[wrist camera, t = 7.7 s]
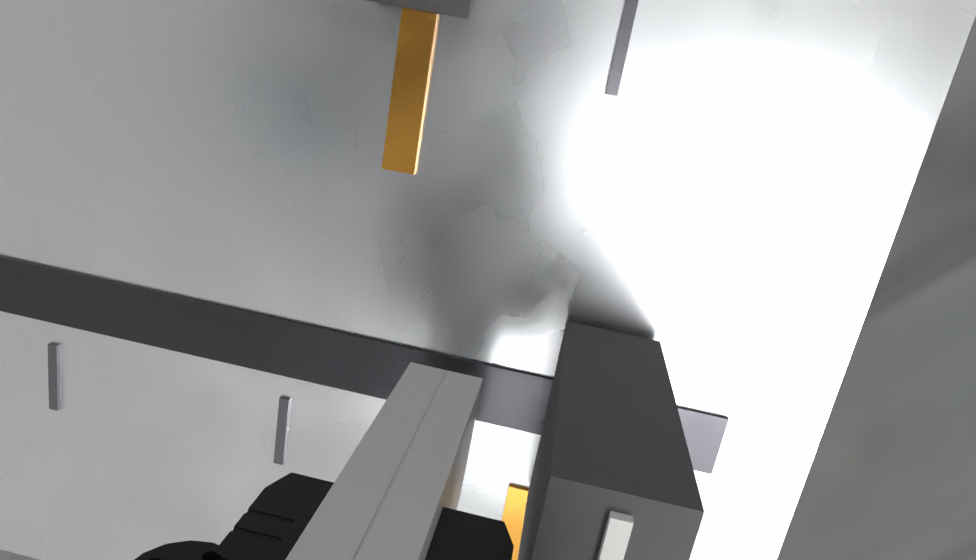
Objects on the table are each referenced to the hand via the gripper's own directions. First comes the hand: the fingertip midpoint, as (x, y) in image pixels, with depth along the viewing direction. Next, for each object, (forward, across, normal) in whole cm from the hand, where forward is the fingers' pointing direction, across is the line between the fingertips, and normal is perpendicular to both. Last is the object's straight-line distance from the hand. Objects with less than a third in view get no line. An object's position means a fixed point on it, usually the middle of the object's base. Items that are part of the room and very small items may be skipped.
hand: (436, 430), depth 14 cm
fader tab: (+2, +3, 0) cm, 4 cm away
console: (+4, -4, +3) cm, 6 cm away
